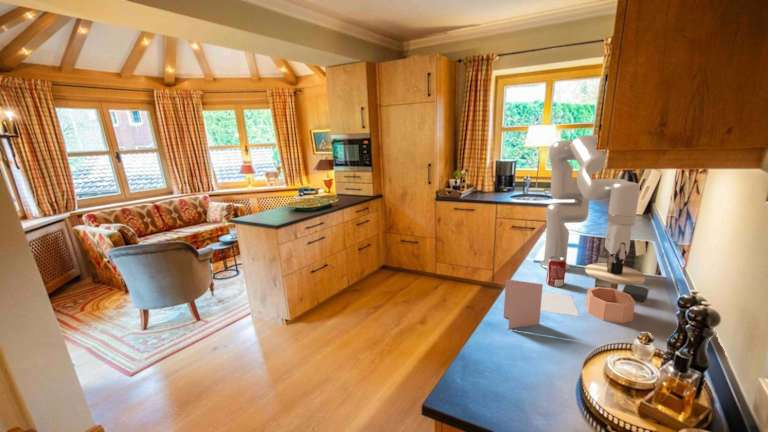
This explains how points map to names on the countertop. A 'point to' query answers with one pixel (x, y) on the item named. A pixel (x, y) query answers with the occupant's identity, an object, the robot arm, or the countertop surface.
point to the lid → (604, 274)
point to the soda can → (556, 271)
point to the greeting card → (522, 303)
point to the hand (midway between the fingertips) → (614, 270)
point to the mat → (558, 304)
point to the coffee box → (599, 283)
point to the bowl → (610, 304)
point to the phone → (636, 292)
